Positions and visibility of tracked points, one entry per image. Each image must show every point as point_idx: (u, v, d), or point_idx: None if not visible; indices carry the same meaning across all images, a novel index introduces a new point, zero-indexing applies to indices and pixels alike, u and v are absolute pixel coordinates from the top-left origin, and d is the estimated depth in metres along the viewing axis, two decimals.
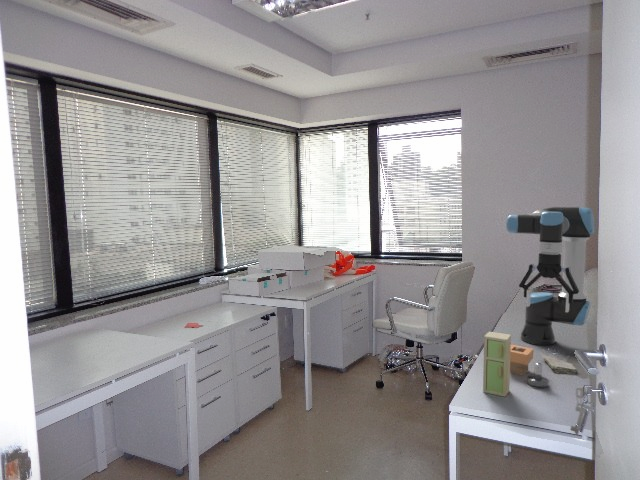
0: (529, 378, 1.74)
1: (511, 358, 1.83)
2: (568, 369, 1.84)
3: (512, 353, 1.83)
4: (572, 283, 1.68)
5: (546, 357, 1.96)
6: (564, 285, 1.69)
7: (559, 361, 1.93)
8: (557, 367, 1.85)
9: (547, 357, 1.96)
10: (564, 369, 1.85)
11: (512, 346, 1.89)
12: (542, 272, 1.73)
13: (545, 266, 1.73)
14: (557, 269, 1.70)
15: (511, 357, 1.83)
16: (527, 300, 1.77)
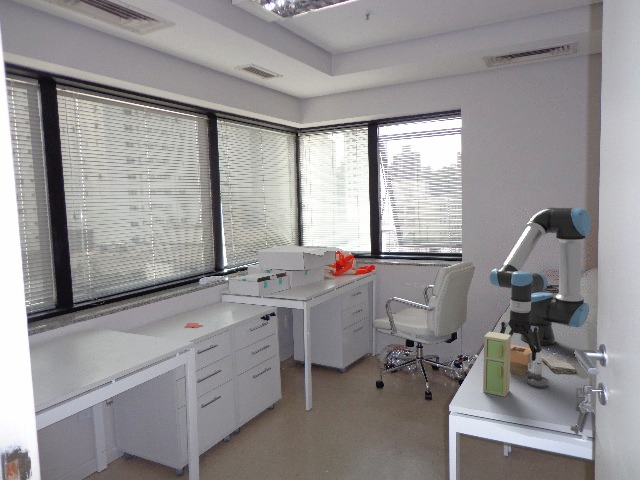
0: (529, 378, 1.74)
1: (511, 358, 1.83)
2: (567, 369, 1.84)
3: (512, 353, 1.83)
4: (537, 342, 1.80)
5: (544, 357, 1.96)
6: (529, 343, 1.82)
7: (557, 361, 1.93)
8: (557, 367, 1.85)
9: (545, 357, 1.96)
10: (564, 369, 1.85)
11: (512, 346, 1.89)
12: (513, 328, 1.84)
13: (515, 321, 1.84)
14: (527, 326, 1.82)
15: (511, 357, 1.83)
16: None
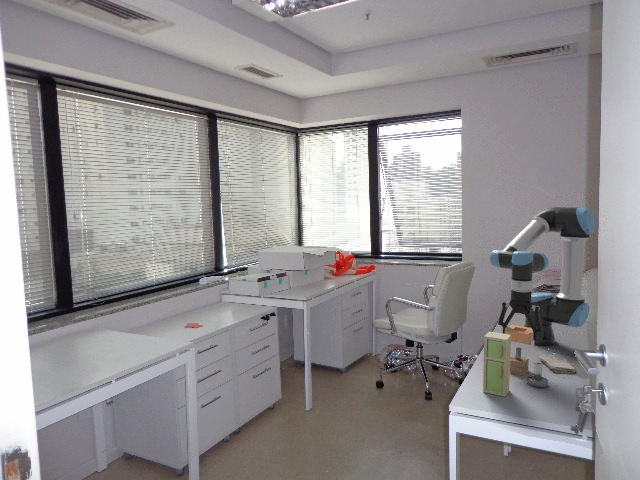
0: (529, 378, 1.74)
1: (512, 338, 1.82)
2: (567, 369, 1.85)
3: (513, 333, 1.82)
4: (538, 321, 1.79)
5: (543, 357, 1.96)
6: (531, 322, 1.81)
7: (556, 361, 1.94)
8: (556, 367, 1.85)
9: (544, 357, 1.96)
10: (563, 369, 1.85)
11: (513, 326, 1.88)
12: (515, 308, 1.83)
13: (516, 301, 1.83)
14: (528, 306, 1.81)
15: (512, 337, 1.82)
16: None
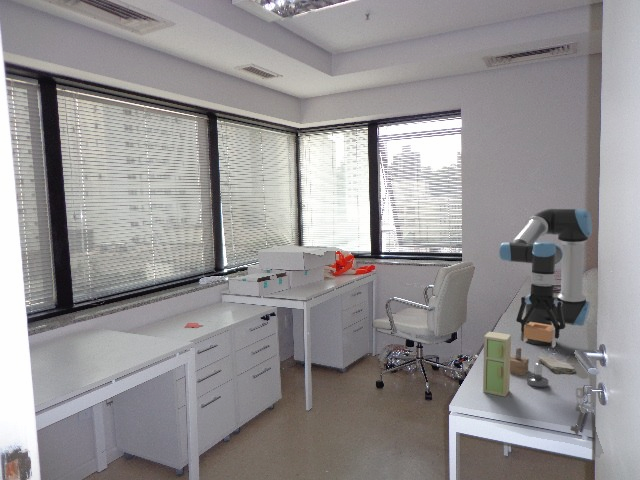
0: (529, 378, 1.74)
1: (532, 335, 1.69)
2: (567, 369, 1.85)
3: (533, 330, 1.68)
4: (561, 318, 1.66)
5: (542, 357, 1.96)
6: (552, 319, 1.67)
7: (555, 361, 1.94)
8: (556, 367, 1.85)
9: (543, 357, 1.96)
10: (563, 369, 1.85)
11: (533, 323, 1.75)
12: (535, 304, 1.70)
13: (537, 296, 1.70)
14: (549, 301, 1.67)
15: (532, 334, 1.69)
16: None
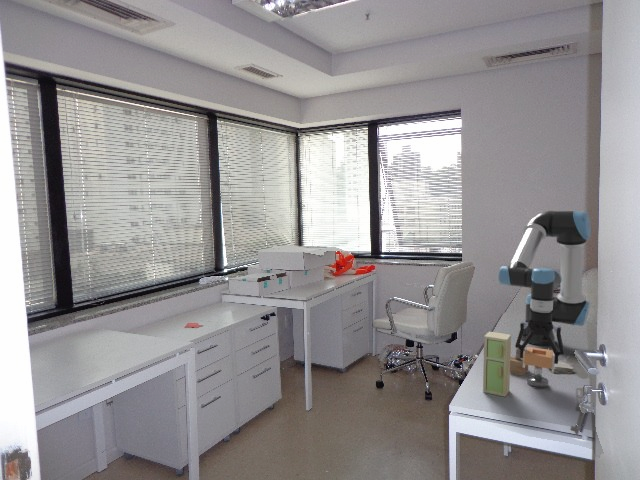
0: (529, 378, 1.74)
1: (533, 362, 1.69)
2: (567, 369, 1.85)
3: (534, 356, 1.69)
4: (560, 344, 1.67)
5: None
6: (552, 345, 1.69)
7: None
8: (556, 367, 1.85)
9: None
10: (563, 369, 1.85)
11: (531, 349, 1.76)
12: (534, 330, 1.71)
13: (536, 322, 1.71)
14: (549, 327, 1.69)
15: (533, 361, 1.69)
16: None
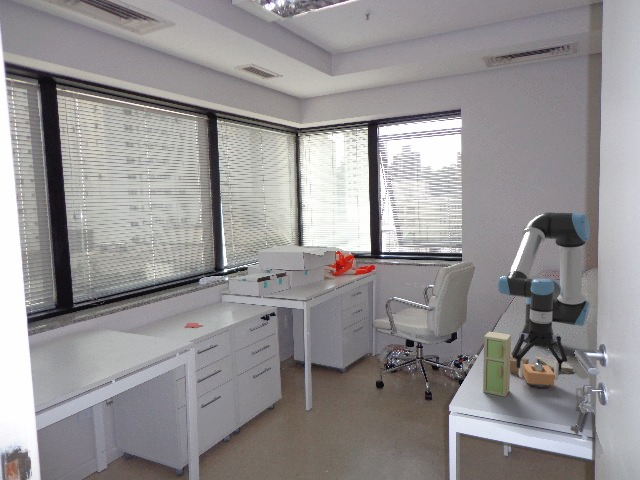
0: None
1: (536, 380, 1.69)
2: (566, 369, 1.85)
3: (537, 375, 1.69)
4: (562, 351, 1.69)
5: (540, 357, 1.96)
6: (555, 353, 1.70)
7: (553, 361, 1.94)
8: None
9: (540, 357, 1.96)
10: (563, 369, 1.85)
11: (528, 366, 1.76)
12: (535, 341, 1.70)
13: (537, 334, 1.71)
14: (549, 337, 1.70)
15: (536, 379, 1.69)
16: (521, 371, 1.73)
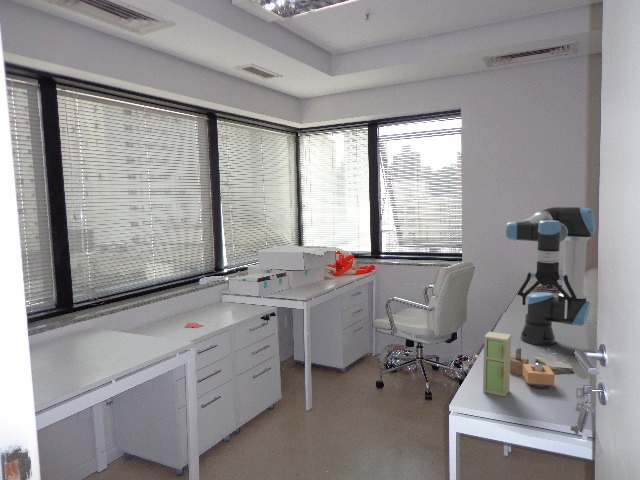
0: None
1: (536, 380, 1.69)
2: (566, 368, 1.85)
3: (537, 375, 1.69)
4: (571, 290, 1.72)
5: (538, 358, 1.96)
6: (563, 292, 1.73)
7: (551, 361, 1.94)
8: (556, 368, 1.85)
9: (539, 358, 1.96)
10: (562, 369, 1.85)
11: (528, 366, 1.76)
12: (541, 280, 1.76)
13: (544, 274, 1.76)
14: (556, 277, 1.74)
15: (536, 379, 1.69)
16: (526, 308, 1.80)
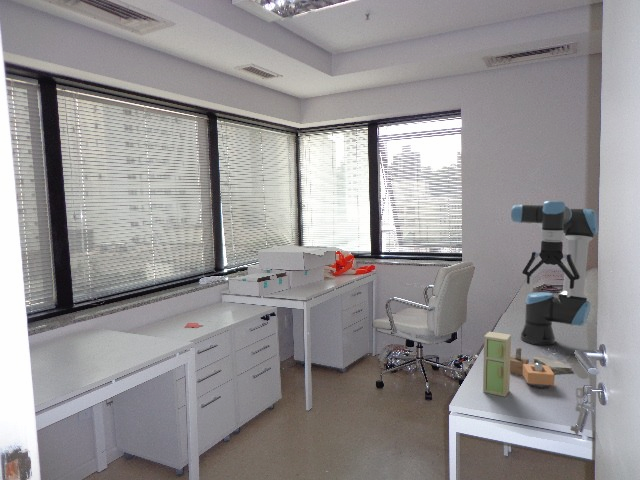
0: None
1: (536, 380, 1.69)
2: (565, 368, 1.85)
3: (537, 375, 1.69)
4: (573, 269, 1.75)
5: (537, 358, 1.95)
6: (565, 271, 1.77)
7: (550, 361, 1.94)
8: (556, 368, 1.85)
9: (538, 358, 1.96)
10: (562, 369, 1.85)
11: (528, 366, 1.76)
12: (544, 259, 1.80)
13: (547, 253, 1.80)
14: (559, 256, 1.78)
15: (536, 379, 1.69)
16: (530, 286, 1.85)
